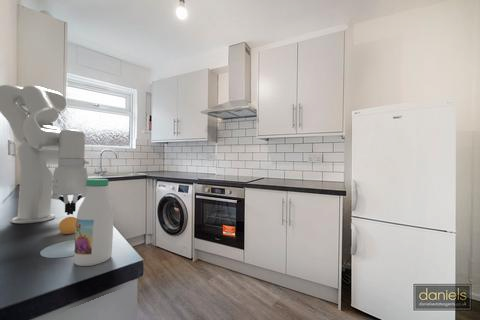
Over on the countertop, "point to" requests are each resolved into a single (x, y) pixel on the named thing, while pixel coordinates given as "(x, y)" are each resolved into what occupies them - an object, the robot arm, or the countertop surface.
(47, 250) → the disc
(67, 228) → the ball
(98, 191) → the milk bottle
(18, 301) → the countertop surface
